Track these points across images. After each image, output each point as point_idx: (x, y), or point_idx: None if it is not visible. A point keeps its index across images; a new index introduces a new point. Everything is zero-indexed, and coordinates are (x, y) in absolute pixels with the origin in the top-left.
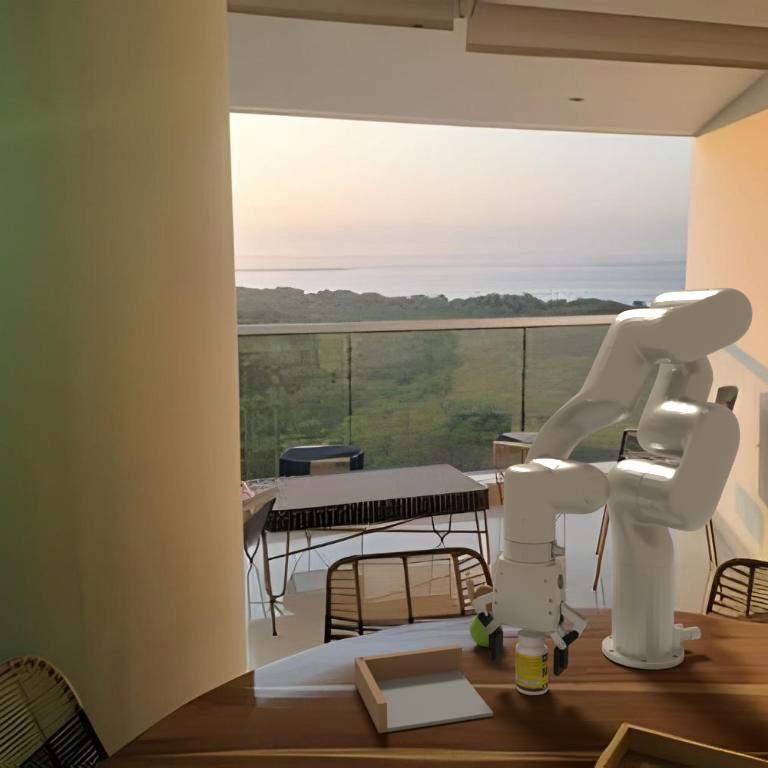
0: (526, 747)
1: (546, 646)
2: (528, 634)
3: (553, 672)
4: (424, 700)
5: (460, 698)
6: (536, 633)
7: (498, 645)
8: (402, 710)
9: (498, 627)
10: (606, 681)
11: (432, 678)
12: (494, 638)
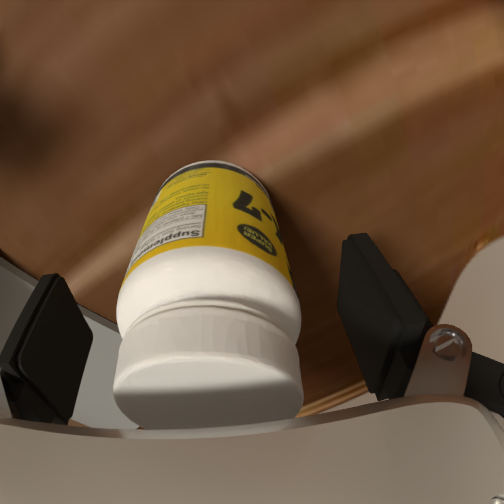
0: (318, 394)
1: (282, 291)
2: (204, 425)
3: (339, 314)
4: (80, 388)
5: (116, 364)
6: (239, 405)
7: (65, 356)
8: (90, 412)
9: (26, 411)
10: (425, 25)
11: (7, 324)
12: (68, 412)
